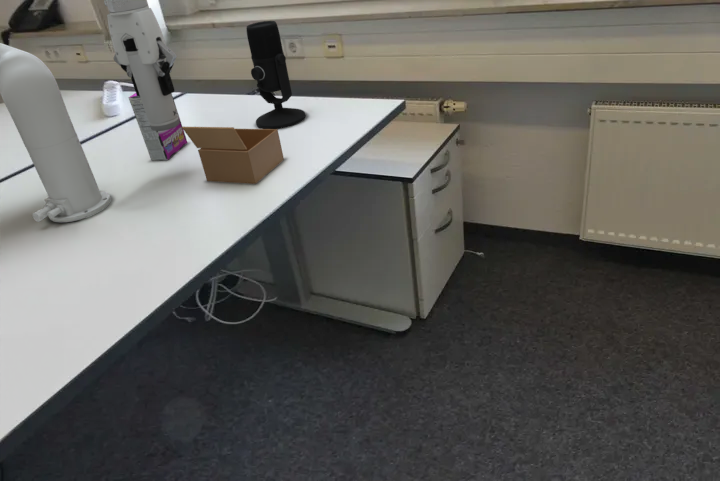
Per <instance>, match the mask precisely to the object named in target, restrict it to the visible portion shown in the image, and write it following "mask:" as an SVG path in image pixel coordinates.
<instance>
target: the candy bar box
mask: <svg viewBox="0 0 720 481" xmlns="http://www.w3.org/2000/svg"><path fill="white" fill-rule="evenodd" d="M171 94H172V97H173V93H171ZM128 100H129V103H130V105H131V109H132V111H133V114H134V116H135V119H136V122H137V125H138V128H139V130H140V133H141V137H142V138H143V142H144V145H145V147H146V150H147V153H148V155H149V158H150V161H152V162H159V161H168V160H170V159H171V158H172V157H173V156H175V155H176V154H177V153H178V152H179V151H180V150H182V149H183V147H185V146H186V145H187V144H188V140H187V137H186V136H187V135H186V133H185V131H184V130H183V128H182V127H183V124H182V121H181V118H180V115H179V112H178V108H177V106H176V102H175V99H174V97H173V101H174V104H175V107H176V111H177V114H178V117H179V120H180V123H179V125H178V126H176V127H174V128H172V129H168V130H164V131H154V130H152V129H151V127H150V124H149V121H148V118H147V115H146V112H145V109H144V106H143V104H142V101H141V98H140V96H137V94H136V92H134V93H133V94H131V95H130V96H128Z"/></svg>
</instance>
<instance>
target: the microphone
mask: <svg viewBox="0 0 720 481" xmlns="http://www.w3.org/2000/svg"><path fill="white" fill-rule="evenodd" d="M245 29H246V37H247V41H248V46H249V50H250V56H251V57H250V58H251V61H252V65H253V68H251V70H250V75H251V77H252V79H253V80H254V81H256V87H257V88H258V92H259V95H260V97H261V98H262V99H263V100H264V101H265V102H266V103H268V104H270V105H271V104H272V105H273V106H274V109H272V110H269V111H267V112H265V113H263V114H261V115H260V116H258V117H257V118H256V119H255V125H256V127H257V128H258V129H278V130H280V129H281V130H282V129H286V128H290V127H293V126H296V125H298V124H300V123H302V122H303V121H305V119H306V117H307V115H306V111H305V110H303V109H301V108H292V107H283V104H284V103H286V102H288V100H290V98H291V97H292V96H293V92H292V87H291V82H290V76H289V72H288V67H287V61H286V60H287V58H286V55H285V53H284V50H283V44H282V40H281V34H280V31H279V26H278V23H277V21H276V20H264V21H257V22H253V23H251V24H248V25H246V28H245ZM275 92H280V93H281V98H280V97H276V96H275V95H274V94H273V93H275Z"/></svg>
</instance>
